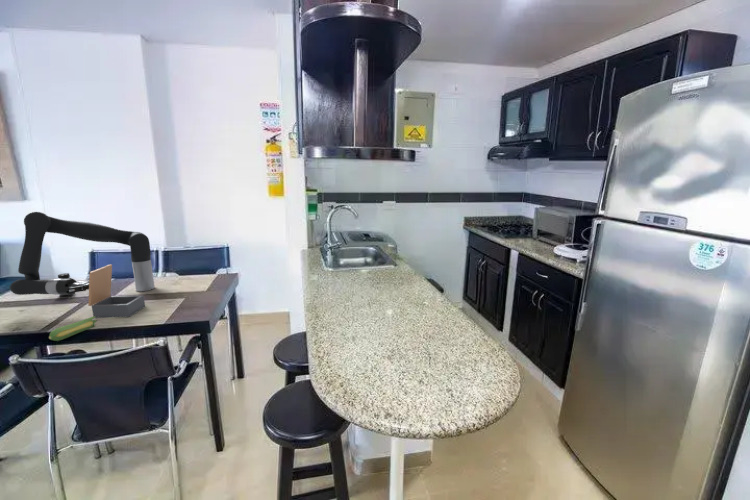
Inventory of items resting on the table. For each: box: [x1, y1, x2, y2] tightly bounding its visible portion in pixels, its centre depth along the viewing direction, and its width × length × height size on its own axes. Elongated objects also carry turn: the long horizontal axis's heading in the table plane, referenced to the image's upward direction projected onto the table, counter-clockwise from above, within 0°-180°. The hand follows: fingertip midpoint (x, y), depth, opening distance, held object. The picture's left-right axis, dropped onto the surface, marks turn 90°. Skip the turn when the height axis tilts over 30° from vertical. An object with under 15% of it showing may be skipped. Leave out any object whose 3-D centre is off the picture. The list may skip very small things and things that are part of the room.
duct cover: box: [87, 263, 113, 307], centre depth 168 cm, size 14×16×1 cm
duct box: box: [91, 294, 146, 319], centre depth 170 cm, size 13×16×6 cm
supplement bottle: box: [57, 272, 76, 298], centre depth 193 cm, size 7×7×12 cm
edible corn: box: [48, 316, 98, 342], centre depth 149 cm, size 5×20×5 cm
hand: (99, 286), depth 168 cm, fingers closed
